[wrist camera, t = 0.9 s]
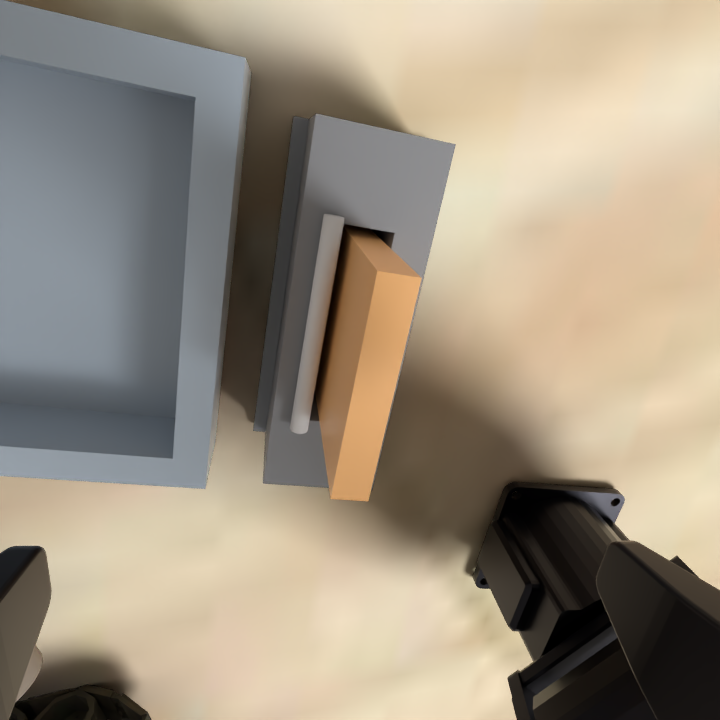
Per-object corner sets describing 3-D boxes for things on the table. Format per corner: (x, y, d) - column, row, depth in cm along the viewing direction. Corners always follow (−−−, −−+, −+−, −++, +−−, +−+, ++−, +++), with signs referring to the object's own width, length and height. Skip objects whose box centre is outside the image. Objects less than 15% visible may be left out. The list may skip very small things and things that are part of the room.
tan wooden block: (364, 224, 18) (421, 278, 11) (336, 373, 20) (368, 501, 13) (337, 219, 18) (377, 270, 11) (312, 370, 20) (330, 498, 13)
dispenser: (432, 146, 18) (479, 148, 14) (368, 434, 22) (388, 501, 18) (293, 116, 17) (298, 107, 13) (253, 424, 21) (247, 493, 17)
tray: (251, 72, 16) (245, 57, 13) (215, 441, 21) (205, 488, 18) (-238, -41, 14) (-378, -91, 11) (-146, 412, 19) (-224, 461, 16)
